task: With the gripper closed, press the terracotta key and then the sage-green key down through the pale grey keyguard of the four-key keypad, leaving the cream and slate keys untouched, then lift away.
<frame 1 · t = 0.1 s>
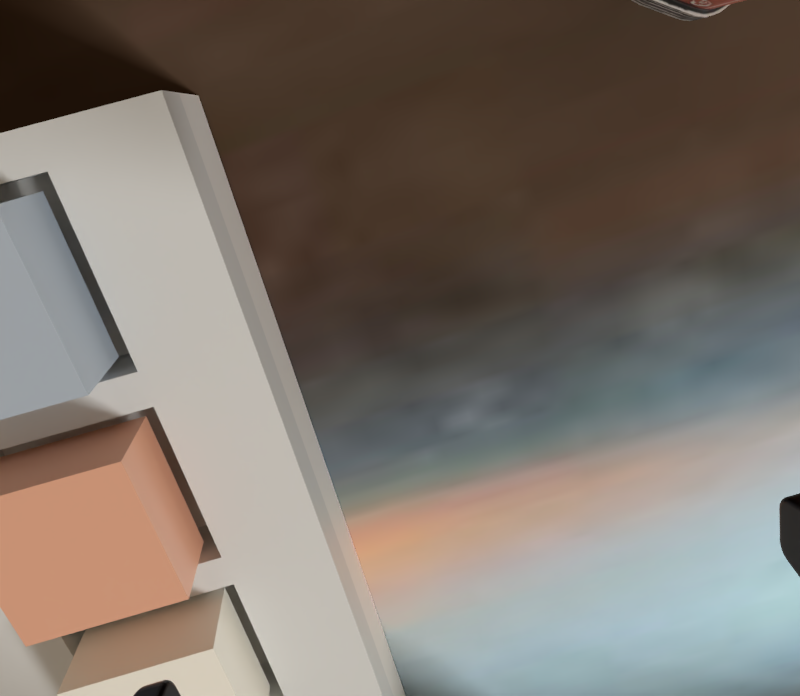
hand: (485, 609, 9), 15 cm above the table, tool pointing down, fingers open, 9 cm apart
key terracotta: (87, 528, 17), point 6 cm above the table, slide at 0.0 cm
keypad: (173, 502, 24), on the table
key cream: (174, 689, 20), point 6 cm above the table, slide at 0.0 cm
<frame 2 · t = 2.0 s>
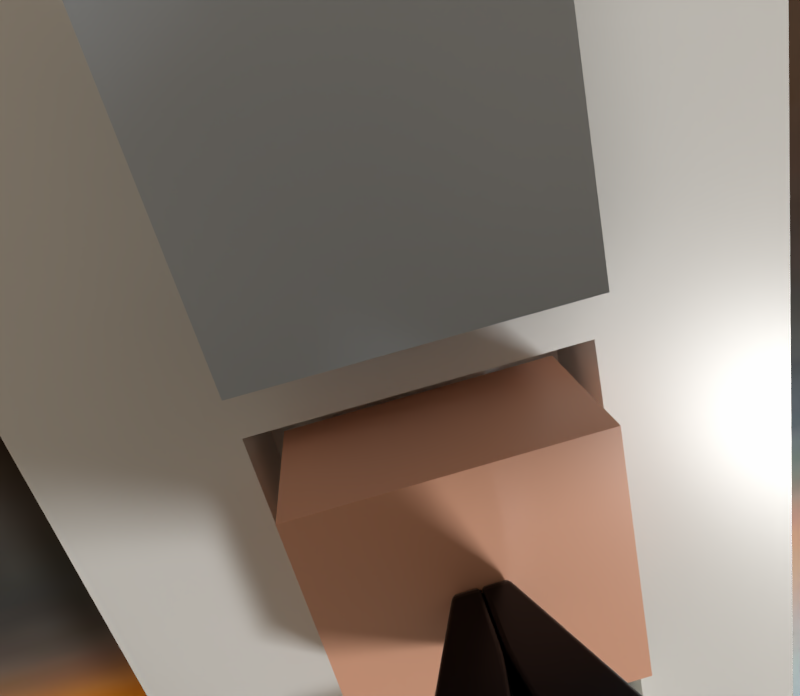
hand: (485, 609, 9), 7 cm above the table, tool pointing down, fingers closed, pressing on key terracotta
key terracotta: (463, 550, 10), point 6 cm above the table, slide at 0.2 cm, touching gripper
keypad: (441, 507, 16), on the table
key slate: (357, 135, 7), point 6 cm above the table, slide at 0.0 cm
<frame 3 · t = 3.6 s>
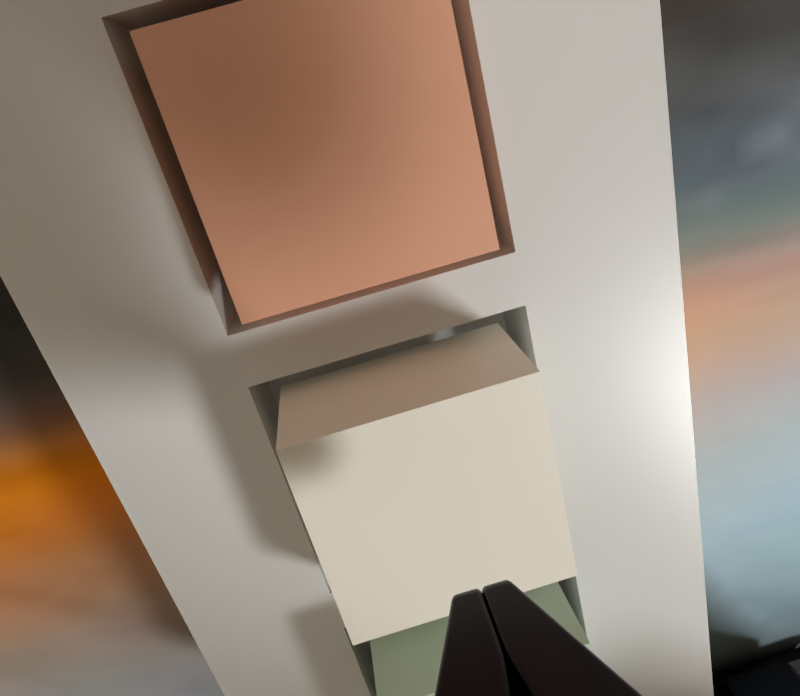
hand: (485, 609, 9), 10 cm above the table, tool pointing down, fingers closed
key terracotta: (329, 145, 11), point 5 cm above the table, slide at 1.1 cm
keypad: (359, 258, 16), on the table
key cream: (427, 479, 12), point 6 cm above the table, slide at 0.0 cm
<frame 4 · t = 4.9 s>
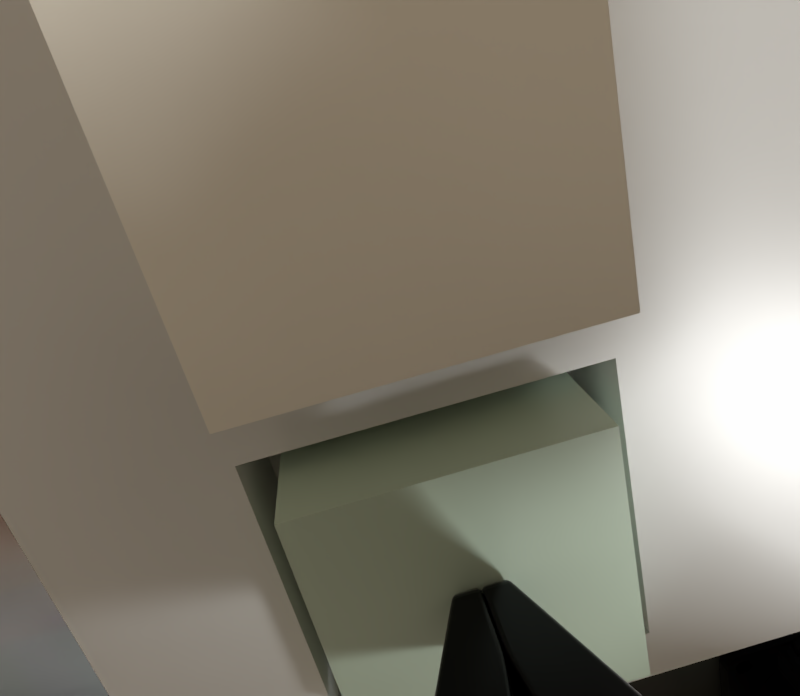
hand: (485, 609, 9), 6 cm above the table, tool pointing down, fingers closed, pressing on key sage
key sage: (462, 550, 10), point 5 cm above the table, slide at 1.0 cm, touching gripper
key cream: (360, 139, 7), point 6 cm above the table, slide at 0.0 cm
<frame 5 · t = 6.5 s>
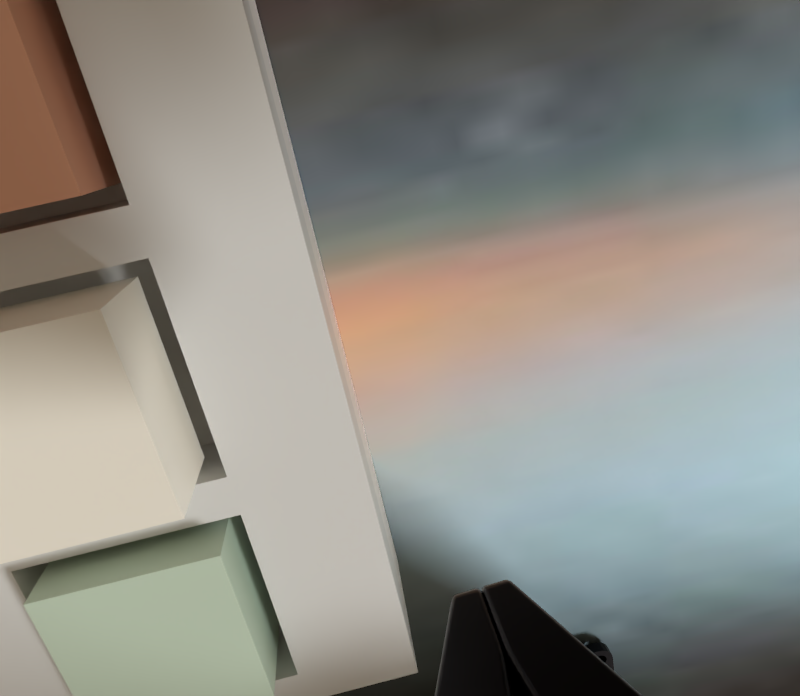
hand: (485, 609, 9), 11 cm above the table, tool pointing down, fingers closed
key sage: (167, 615, 16), point 5 cm above the table, slide at 1.1 cm
keypad: (86, 223, 17), on the table
key cream: (51, 420, 13), point 6 cm above the table, slide at 0.0 cm
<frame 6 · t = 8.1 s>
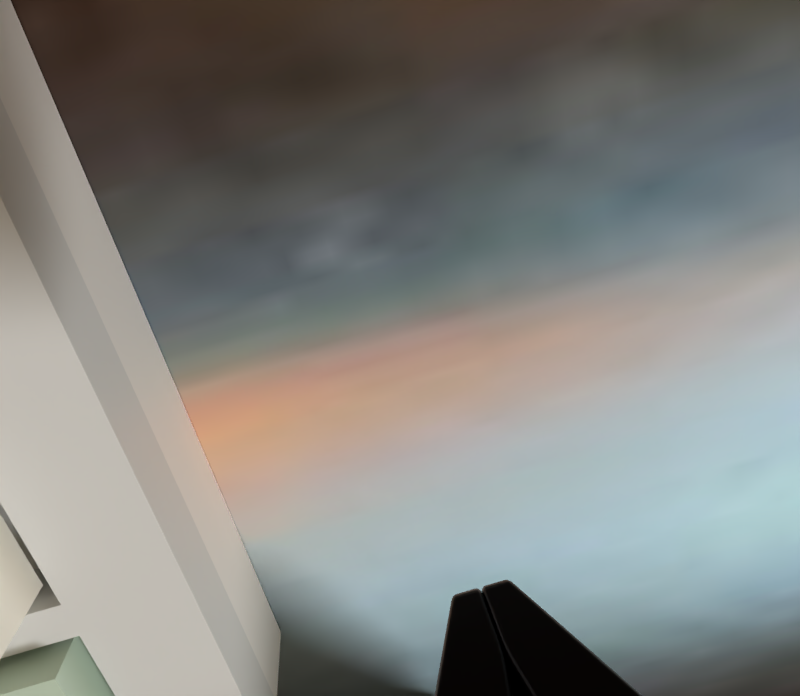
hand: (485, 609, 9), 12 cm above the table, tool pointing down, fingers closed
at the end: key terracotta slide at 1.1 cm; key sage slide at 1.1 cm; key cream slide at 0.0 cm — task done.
